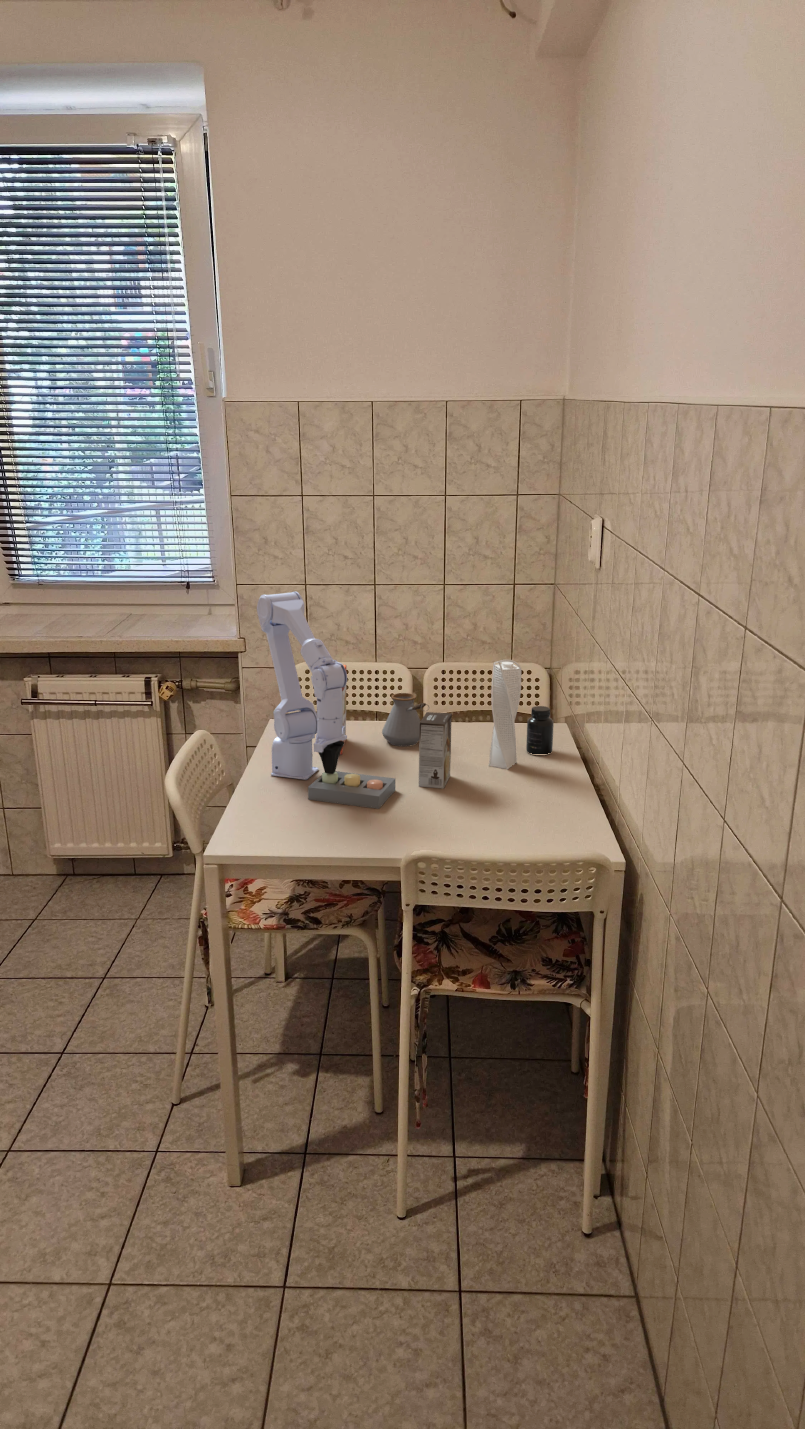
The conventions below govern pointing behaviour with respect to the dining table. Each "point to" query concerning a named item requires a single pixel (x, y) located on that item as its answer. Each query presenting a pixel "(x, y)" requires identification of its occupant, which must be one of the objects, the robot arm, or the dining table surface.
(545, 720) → the supplement bottle
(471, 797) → the dining table surface
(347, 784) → the button ochre
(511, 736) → the skyscraper
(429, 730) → the coffee box
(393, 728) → the coffee pot
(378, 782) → the button terracotta
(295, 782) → the dining table surface
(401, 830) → the dining table surface
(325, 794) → the button panel
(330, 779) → the button sage
